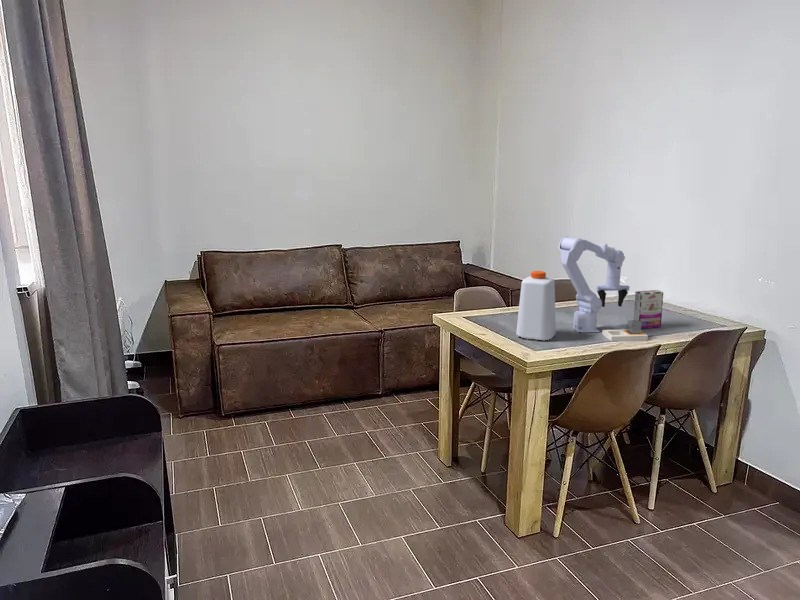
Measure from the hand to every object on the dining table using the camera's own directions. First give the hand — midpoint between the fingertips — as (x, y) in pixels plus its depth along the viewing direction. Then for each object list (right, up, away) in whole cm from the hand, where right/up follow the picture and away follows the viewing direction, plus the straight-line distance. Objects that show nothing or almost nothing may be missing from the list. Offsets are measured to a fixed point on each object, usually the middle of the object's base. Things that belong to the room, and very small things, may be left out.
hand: (611, 306), depth 269 cm
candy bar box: (+16, -10, +1) cm, 19 cm away
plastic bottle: (-36, -13, -11) cm, 40 cm away
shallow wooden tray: (+1, -13, -14) cm, 19 cm away
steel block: (+4, -13, -15) cm, 20 cm away
